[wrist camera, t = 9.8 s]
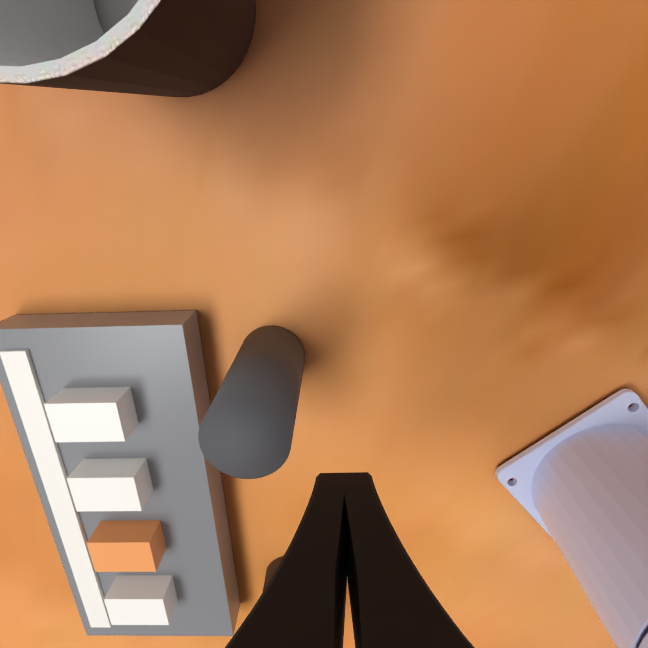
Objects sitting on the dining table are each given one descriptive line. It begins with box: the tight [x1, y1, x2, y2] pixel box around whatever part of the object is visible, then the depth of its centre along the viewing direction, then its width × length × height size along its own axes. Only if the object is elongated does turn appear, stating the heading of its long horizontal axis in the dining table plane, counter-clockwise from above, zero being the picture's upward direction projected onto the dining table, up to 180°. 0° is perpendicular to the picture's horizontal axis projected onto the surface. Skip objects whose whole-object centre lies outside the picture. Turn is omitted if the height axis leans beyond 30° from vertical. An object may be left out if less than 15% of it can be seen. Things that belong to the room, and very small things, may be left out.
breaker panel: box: [0, 310, 240, 636], centre depth 22 cm, size 20×9×3 cm, turn 2°
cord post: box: [198, 326, 305, 479], centre depth 18 cm, size 3×3×7 cm
